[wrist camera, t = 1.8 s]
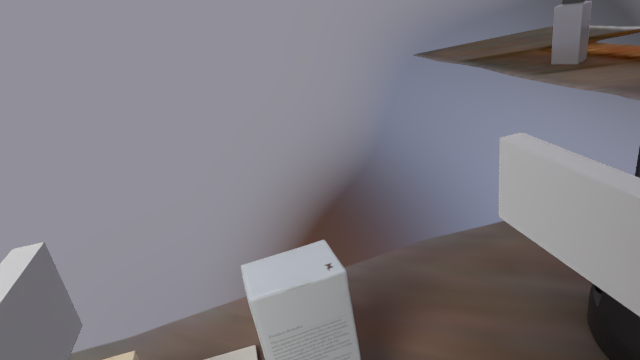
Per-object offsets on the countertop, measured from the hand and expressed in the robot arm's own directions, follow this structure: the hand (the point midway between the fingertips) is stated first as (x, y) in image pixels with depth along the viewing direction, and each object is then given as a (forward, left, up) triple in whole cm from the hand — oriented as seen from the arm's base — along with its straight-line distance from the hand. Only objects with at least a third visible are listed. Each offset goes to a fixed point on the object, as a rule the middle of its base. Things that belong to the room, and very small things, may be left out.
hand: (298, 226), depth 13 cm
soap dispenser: (-89, -91, -21) cm, 129 cm away
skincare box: (0, -12, -21) cm, 24 cm away
